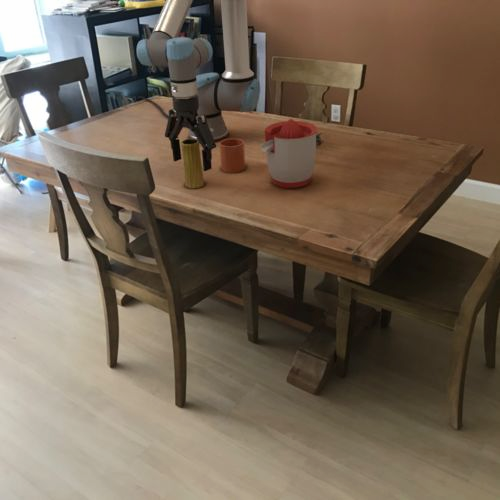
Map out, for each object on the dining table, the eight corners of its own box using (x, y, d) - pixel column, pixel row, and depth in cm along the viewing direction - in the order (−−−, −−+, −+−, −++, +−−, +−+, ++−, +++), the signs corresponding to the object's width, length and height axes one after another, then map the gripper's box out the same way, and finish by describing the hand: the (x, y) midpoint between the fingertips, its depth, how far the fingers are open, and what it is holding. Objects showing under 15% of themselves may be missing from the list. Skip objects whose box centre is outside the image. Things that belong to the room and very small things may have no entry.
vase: (182, 188, 162) (177, 144, 154) (188, 180, 167) (183, 137, 159) (201, 188, 161) (197, 145, 153) (206, 180, 166) (202, 138, 158)
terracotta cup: (216, 169, 173) (214, 143, 169) (232, 161, 178) (231, 136, 174) (234, 174, 169) (232, 148, 164) (250, 166, 174) (248, 141, 169)
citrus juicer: (253, 178, 166) (250, 117, 155) (301, 167, 171) (301, 108, 161) (274, 197, 153) (273, 132, 143) (325, 185, 159) (327, 121, 148)
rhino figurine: (318, 150, 184) (319, 134, 181) (293, 140, 193) (293, 125, 190) (327, 147, 186) (327, 131, 183) (301, 138, 195) (301, 122, 192)
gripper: (147, 92, 154) (157, 159, 165) (206, 105, 139) (212, 178, 150) (166, 87, 158) (174, 152, 169) (225, 99, 144) (229, 170, 155)
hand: (192, 164), depth 160 cm, fingers open, 13 cm apart
